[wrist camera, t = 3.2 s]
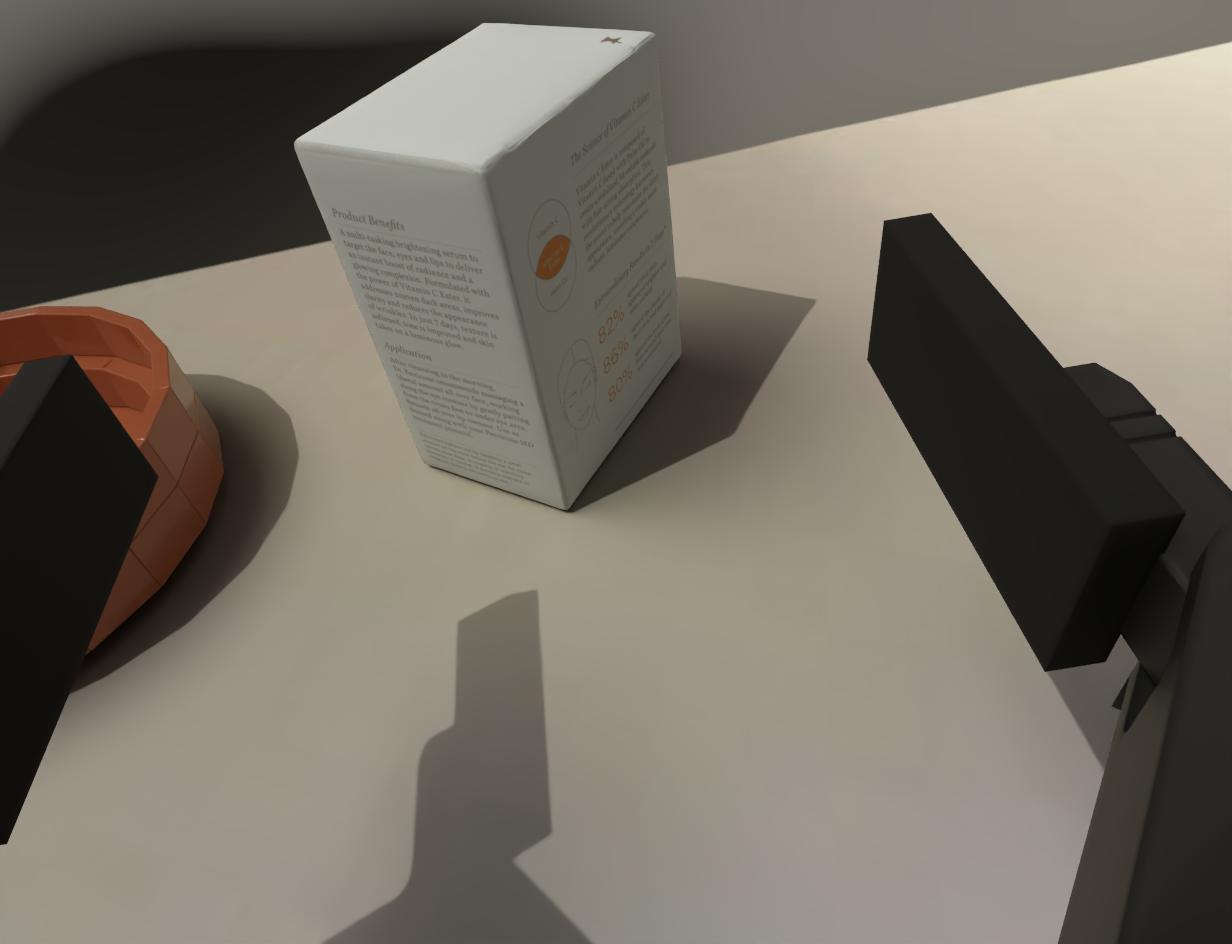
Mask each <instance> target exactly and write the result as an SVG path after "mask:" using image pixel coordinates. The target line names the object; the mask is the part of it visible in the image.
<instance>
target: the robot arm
mask: <svg viewBox="0 0 1232 944" xmlns="http://www.w3.org/2000/svg"><path fill="white" fill-rule="evenodd" d="M867 360H868V362H869V364H870V365H871V367H872V369H873V371H874V372H875V374H876V376H877V378H878V379H879V381H880V383H881V385H882V386H883V388H884V390H885V392H886V393H887V395H888V397H889V399H890V400H891V402H892V404H893V406H894V407H895V409H896V411H897V413H898V414H899V416H900V418H901V420H902V421H903V423H904V425H905V427H906V429H907V430H908V432H909V434H910V436H911V437H912V439H913V441H914V443H915V444H916V446H917V448H918V450H919V451H920V453H921V455H922V457H923V458H924V460H925V462H926V464H927V465H928V467H929V469H930V471H931V472H932V474H933V476H934V478H935V479H936V481H937V483H938V485H939V486H940V488H941V490H942V492H943V494H944V495H945V497H946V499H947V501H948V502H949V504H950V506H951V508H952V509H953V511H954V513H955V515H956V516H957V518H958V520H959V522H960V523H961V525H962V527H963V529H964V530H965V532H966V534H967V536H968V537H969V539H970V541H971V543H972V544H973V546H974V548H975V550H976V552H977V553H978V555H979V557H980V559H981V560H982V562H983V564H984V566H985V567H986V569H987V571H988V573H989V574H990V576H991V578H992V580H993V581H994V583H995V585H996V587H997V588H998V590H999V592H1000V594H1001V595H1002V597H1003V599H1004V601H1005V602H1006V604H1007V606H1008V608H1009V609H1010V611H1011V613H1012V615H1013V617H1014V618H1015V620H1016V622H1017V624H1018V625H1019V627H1020V629H1021V631H1022V632H1023V634H1024V636H1025V638H1026V639H1027V641H1028V643H1029V645H1030V646H1031V648H1032V650H1033V652H1034V653H1035V655H1036V657H1037V659H1038V660H1039V662H1040V664H1041V666H1042V667H1043V669H1044V671H1045V672H1047V671H1053V670H1059V669H1065V668H1071V667H1077V666H1084V665H1090V664H1096V663H1102V662H1106V660H1107V658H1108V656H1109V654H1110V653H1111V651H1112V649H1113V647H1114V645H1115V643H1116V642H1117V640H1118V638H1119V636H1120V634H1121V635H1122V636H1123V638H1124V639H1125V641H1126V642H1127V644H1128V645H1129V647H1130V648H1131V650H1132V651H1133V653H1134V654H1135V656H1136V657H1137V659H1138V660H1139V661H1138V662H1137V664H1136V666H1135V667H1134V669H1133V671H1132V673H1131V674H1130V676H1129V678H1128V679H1127V681H1126V683H1125V684H1124V686H1123V688H1122V689H1121V691H1120V693H1119V694H1118V696H1117V698H1116V699H1115V701H1114V703H1113V705H1112V707H1115V708H1117V709H1119V710H1121V712H1120V715H1119V719H1118V723H1117V726H1116V730H1115V734H1114V738H1113V741H1112V745H1111V749H1110V752H1109V756H1108V760H1107V764H1106V767H1105V771H1104V775H1103V778H1102V782H1101V786H1100V789H1099V793H1098V797H1097V801H1096V804H1095V808H1094V812H1093V815H1092V819H1091V823H1090V826H1089V830H1088V834H1087V838H1086V841H1085V845H1084V849H1083V852H1082V856H1081V860H1080V864H1079V867H1078V871H1077V875H1076V878H1075V882H1074V886H1073V889H1072V893H1071V897H1070V901H1069V904H1068V908H1067V912H1066V915H1065V919H1064V923H1063V927H1062V930H1061V934H1060V938H1059V941H1058V944H1232V491H1231V490H1230V489H1229V488H1228V486H1227V485H1226V484H1225V483H1224V482H1223V481H1222V480H1221V479H1220V478H1219V477H1218V476H1217V475H1216V474H1215V473H1214V471H1213V470H1212V469H1211V468H1210V467H1209V466H1208V465H1207V464H1206V463H1205V462H1204V461H1203V460H1202V459H1201V457H1200V456H1199V455H1198V454H1197V453H1196V452H1195V451H1194V450H1193V449H1192V448H1191V447H1190V446H1189V445H1188V443H1187V442H1186V441H1185V440H1184V439H1183V438H1182V437H1181V436H1180V437H1177V436H1176V433H1175V432H1176V431H1175V429H1174V428H1173V427H1172V426H1171V425H1170V424H1169V423H1168V422H1167V421H1166V420H1165V419H1164V418H1163V417H1162V416H1161V415H1157V414H1156V409H1155V408H1154V407H1153V406H1152V405H1151V404H1150V403H1149V402H1148V400H1147V399H1146V398H1145V397H1144V396H1143V395H1142V394H1141V393H1140V392H1139V391H1138V390H1137V389H1136V388H1135V386H1134V385H1133V384H1132V383H1130V382H1128V381H1127V380H1125V379H1123V378H1121V377H1120V376H1118V375H1116V374H1114V373H1113V372H1111V371H1109V370H1107V369H1105V368H1104V367H1102V366H1100V365H1098V364H1097V363H1090V364H1084V365H1078V366H1072V367H1066V368H1063V367H1062V366H1061V365H1060V364H1059V363H1058V361H1057V360H1056V359H1055V358H1054V357H1053V355H1052V354H1051V353H1050V352H1049V351H1048V350H1047V348H1046V347H1045V346H1044V345H1043V344H1042V343H1041V341H1040V340H1039V339H1038V338H1037V337H1036V335H1035V334H1034V333H1033V332H1032V331H1031V330H1030V328H1029V327H1028V326H1027V325H1026V324H1025V323H1024V321H1023V320H1022V319H1021V318H1020V317H1019V315H1018V314H1017V313H1016V312H1015V311H1014V310H1013V308H1012V307H1011V306H1010V305H1009V304H1008V303H1007V301H1006V300H1005V299H1004V298H1003V297H1002V295H1001V294H1000V293H999V292H998V291H997V290H996V288H995V287H994V286H993V285H992V284H991V283H990V281H989V280H988V279H987V278H986V277H985V276H984V274H983V273H982V272H981V271H980V270H979V268H978V267H977V266H976V265H975V264H974V263H973V261H972V260H971V259H970V258H969V257H968V256H967V254H966V253H965V252H964V251H963V250H962V248H961V247H960V246H959V245H958V244H957V243H956V241H955V240H954V239H953V238H952V237H951V236H950V234H949V233H948V232H947V231H946V230H945V228H944V227H943V226H942V225H941V224H940V223H939V221H938V220H937V219H936V218H935V217H934V216H933V214H932V213H928V214H922V215H916V216H910V217H904V218H898V219H892V220H886V221H884V225H883V234H882V242H881V250H880V258H879V267H878V275H877V283H876V292H875V300H874V308H873V317H872V325H871V333H870V342H869V350H868V358H867ZM158 477H159V476H158V475H157V473H156V472H155V470H154V469H153V468H152V466H151V465H150V463H149V462H148V461H147V459H146V458H145V456H144V455H143V454H142V452H141V451H140V449H139V448H138V447H137V445H136V444H135V442H134V441H133V440H132V438H131V437H130V435H129V434H128V433H127V431H126V430H125V428H124V427H123V426H122V424H121V423H120V421H119V420H118V418H117V417H116V416H115V414H114V413H113V411H112V410H111V409H110V407H109V406H108V404H107V403H106V402H105V400H104V399H103V397H102V396H101V395H100V393H99V392H98V390H97V389H96V388H95V386H94V385H93V383H92V382H91V381H90V379H89V378H88V376H87V375H86V374H85V372H84V371H83V369H82V368H81V367H80V365H79V364H78V362H77V361H76V360H75V358H74V357H73V355H66V356H60V357H54V358H48V359H42V360H36V361H29V362H24V364H23V365H22V367H21V368H20V370H19V371H18V372H17V374H16V375H15V377H14V378H13V380H12V381H11V383H10V384H9V386H8V387H7V389H6V390H5V392H4V393H3V394H2V396H1V397H0V845H3V844H7V842H8V840H9V838H10V835H11V833H12V830H13V828H14V826H15V823H16V821H17V818H18V816H19V813H20V811H21V809H22V806H23V804H24V801H25V799H26V797H27V794H28V792H29V789H30V787H31V784H32V782H33V780H34V777H35V775H36V772H37V770H38V768H39V765H40V763H41V760H42V758H43V755H44V753H45V751H46V748H47V746H48V743H49V741H50V739H51V736H52V734H53V731H54V729H55V726H56V724H57V722H58V719H59V717H60V714H61V712H62V710H63V707H64V705H65V702H66V700H67V697H68V695H69V693H70V690H71V688H72V685H73V683H74V681H75V678H76V676H77V673H78V671H79V668H80V666H81V664H82V661H83V659H84V656H85V654H86V652H87V649H88V647H89V644H90V642H91V639H92V637H93V635H94V632H95V630H96V627H97V625H98V623H99V620H100V618H101V615H102V613H103V610H104V608H105V606H106V603H107V601H108V598H109V596H110V593H111V591H112V589H113V586H114V584H115V581H116V579H117V577H118V574H119V572H120V569H121V567H122V564H123V562H124V560H125V557H126V555H127V552H128V550H129V548H130V545H131V543H132V540H133V538H134V535H135V533H136V531H137V528H138V526H139V523H140V521H141V519H142V516H143V514H144V511H145V509H146V506H147V504H148V502H149V499H150V497H151V494H152V492H153V490H154V487H155V485H156V482H157V480H158Z"/></svg>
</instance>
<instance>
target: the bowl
mask: <svg viewBox="0 0 1232 944" xmlns="http://www.w3.org/2000/svg"><path fill="white" fill-rule="evenodd" d="M66 355H73V357H74V358H75V360H76V361H77V362H78V364H79V365H80V367H81V368H82V369H83V371H84V372H85V374H86V375H87V376H88V378H89V379H90V381H91V382H92V383H93V385H94V386H95V388H96V389H97V390H98V392H99V393H100V395H101V396H102V397H103V399H104V400H105V402H106V403H107V404H108V406H109V407H110V409H111V410H112V411H113V413H114V414H115V416H116V417H117V418H118V420H119V421H120V423H121V424H122V426H123V427H124V428H125V430H126V431H127V433H128V434H129V435H130V437H131V438H132V440H133V441H134V442H135V444H136V445H137V447H138V448H139V449H140V451H141V452H142V454H143V455H144V456H145V458H146V459H147V461H148V462H149V463H150V465H151V466H152V468H153V469H154V470H155V472H156V473H157V475H158V476H159V477H158V480H157V482H156V485H155V487H154V490H153V492H152V494H151V497H150V499H149V502H148V504H147V506H146V509H145V511H144V514H143V516H142V519H141V521H140V523H139V526H138V528H137V531H136V533H135V535H134V538H133V540H132V543H131V545H130V548H129V550H128V552H127V555H126V557H125V560H124V562H123V564H122V567H121V569H120V572H119V574H118V577H117V579H116V581H115V584H114V586H113V589H112V591H111V593H110V596H109V598H108V601H107V603H106V606H105V608H104V610H103V613H102V615H101V618H100V620H99V623H98V625H97V627H96V630H95V632H94V635H93V637H92V639H91V642H90V644H89V647H88V649H87V652H86V654H88V653H89V652H90V650H93V649H94V648H95V647H96V646H98V645H99V644H100V643H101V642H102V641H103V640H104V639H105V638H106V637H107V636H109V635H110V634H111V633H112V632H113V631H114V630H115V629H116V628H117V627H118V626H119V625H121V624H122V623H123V622H124V621H125V620H126V619H127V618H128V617H129V616H130V615H132V614H133V613H134V612H135V611H136V610H137V609H138V608H139V607H140V606H141V605H143V604H144V603H145V602H146V601H147V600H148V599H149V598H150V597H151V596H152V595H154V594H155V593H156V592H157V591H158V590H159V589H160V588H161V586H163V585H164V583H165V582H166V581H167V579H168V578H169V576H170V575H171V574H172V572H173V571H174V569H175V568H176V567H177V565H178V564H179V562H180V561H181V560H182V558H183V557H184V555H185V554H186V553H187V551H188V550H189V548H190V547H191V546H192V544H193V543H194V541H195V540H196V539H197V537H198V536H199V534H200V533H201V532H202V530H203V529H204V527H205V524H207V522H208V519H209V516H210V513H211V510H212V506H213V503H214V500H215V497H216V494H217V491H218V488H219V485H220V482H221V479H222V476H223V473H224V467H223V460H222V453H221V446H220V439H219V432H218V429H217V427H216V425H215V424H214V422H213V420H212V419H211V417H210V416H209V414H208V412H207V411H206V409H205V407H204V406H203V404H202V403H201V401H200V399H199V398H198V396H197V395H196V393H195V391H194V390H193V388H192V386H191V385H190V383H189V381H188V380H187V378H186V377H185V375H184V373H183V372H182V370H181V368H180V367H179V365H178V364H177V362H176V360H175V359H174V357H173V356H172V354H171V352H170V351H169V349H168V347H167V346H166V345H165V344H164V343H163V342H162V341H161V340H160V339H159V338H158V337H157V336H156V335H155V334H154V332H153V331H152V330H151V329H150V328H149V327H148V326H147V325H146V324H145V323H144V322H143V321H141V320H140V319H136V318H133V317H130V316H127V315H123V314H120V313H117V312H114V311H111V310H107V309H104V308H101V307H72V306H43V307H41V306H40V307H34V308H29V309H23V310H17V311H11V312H5V313H0V397H1V396H2V394H3V393H4V392H5V390H6V389H7V387H8V386H9V384H10V383H11V381H12V380H13V378H14V377H15V375H16V374H17V372H18V371H19V370H20V368H21V367H22V365H23V364H24V362H29V361H36V360H42V359H48V358H54V357H60V356H66ZM86 654H85V655H86Z"/></svg>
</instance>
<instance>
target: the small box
mask: <svg viewBox="0 0 1232 944" xmlns="http://www.w3.org/2000/svg"><path fill="white" fill-rule="evenodd" d="M294 146H295V151H296V153H297V156H298V159H299V161H300V164H301V166H302V168H303V171H304V173H305V176H306V178H307V180H308V183H309V185H310V188H311V190H312V193H313V195H314V198H315V200H316V203H317V205H318V207H319V210H320V212H321V215H322V217H323V219H324V221H325V224H326V227H327V229H328V232H329V234H330V236H331V239H332V241H333V244H334V246H335V249H336V251H337V254H338V256H339V258H340V261H341V263H342V266H343V268H344V271H345V273H346V276H347V278H348V281H349V283H350V286H351V288H352V291H353V293H354V296H355V298H356V301H357V303H358V305H359V308H360V310H361V312H362V315H363V317H364V320H365V322H366V325H367V327H368V330H369V332H370V335H371V337H372V339H373V342H374V344H375V346H376V349H377V351H378V354H379V356H380V359H381V361H382V364H383V366H384V369H385V371H386V373H387V376H388V378H389V381H390V383H391V386H392V388H393V391H394V393H395V396H396V398H397V400H398V403H399V405H400V408H401V410H402V413H403V415H404V417H405V420H406V422H407V425H408V427H409V429H410V432H411V434H412V437H413V439H414V442H415V444H416V447H417V449H418V452H419V454H420V456H421V459H422V460H423V461H424V463H425V464H428V465H431V466H434V467H437V468H440V469H443V470H446V471H450V472H452V473H455V474H458V475H461V476H464V477H467V478H470V479H473V480H476V481H479V482H482V483H485V484H488V485H491V486H494V487H497V488H500V489H503V490H506V491H509V492H512V493H515V494H518V495H521V496H524V497H527V498H530V499H533V500H536V501H539V502H542V503H545V504H548V505H551V506H554V507H556V508H559V509H563V510H567V509H569V508H570V507H571V505H572V504H573V502H574V501H575V499H576V498H577V497H578V495H579V494H580V492H581V491H582V490H583V488H584V487H585V485H586V484H587V483H588V481H589V480H590V479H591V477H592V476H593V474H594V473H595V472H596V470H597V469H598V468H599V466H600V465H601V464H602V462H603V461H604V459H605V458H606V457H607V455H608V454H609V453H610V451H611V450H612V449H613V447H614V446H615V444H616V443H617V442H618V440H619V439H620V438H621V436H622V435H623V433H624V432H625V431H626V429H627V428H628V427H629V425H630V424H631V422H632V421H633V420H634V418H635V417H636V416H637V414H638V413H639V412H640V410H641V409H642V408H643V406H644V405H645V403H646V402H647V401H648V399H649V398H650V397H651V395H652V394H653V392H654V391H655V390H656V388H657V387H658V385H659V384H660V383H661V381H662V380H663V378H664V377H665V376H666V374H667V373H668V372H669V370H670V369H671V368H672V366H673V365H674V363H675V362H676V361H677V360H678V358H679V357H680V355H681V337H680V325H679V311H678V296H677V285H676V273H675V260H674V248H673V235H672V221H671V210H670V199H669V187H668V175H667V162H666V151H665V141H664V129H663V116H662V103H661V91H660V77H659V66H658V52H657V38H656V35H655V34H654V33H650V32H642V31H629V30H612V29H592V28H591V29H590V28H574V27H555V26H534V25H518V24H500V23H497V24H496V23H495V24H494V23H493V24H492V23H483V24H481V25H480V26H478V27H477V28H475V29H474V30H472V31H471V32H469V33H467V34H466V35H464V36H463V37H461V38H460V39H458V40H456V41H455V42H453V43H452V44H450V45H448V46H446V47H445V48H443V49H442V50H440V51H439V52H437V53H435V54H433V55H432V56H430V57H428V58H427V59H425V60H424V61H422V62H421V63H419V64H418V65H416V66H414V67H412V68H411V69H409V70H408V71H406V72H405V73H403V74H401V75H400V76H398V77H397V78H395V79H393V80H391V81H390V82H388V83H387V84H385V85H383V86H382V87H380V88H379V89H377V90H375V91H374V92H372V93H371V94H369V95H368V96H366V97H364V98H363V99H361V100H359V101H358V102H356V103H354V104H353V105H351V106H349V107H348V108H346V109H345V110H344V111H342V112H340V113H339V114H337V115H336V116H334V117H332V118H330V119H329V120H327V121H325V122H324V123H322V124H321V125H319V126H318V127H316V128H314V129H312V130H311V131H309V132H307V133H306V134H304V135H303V136H301V137H299V138H298V139H297V140H296V141H295V143H294Z"/></svg>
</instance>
